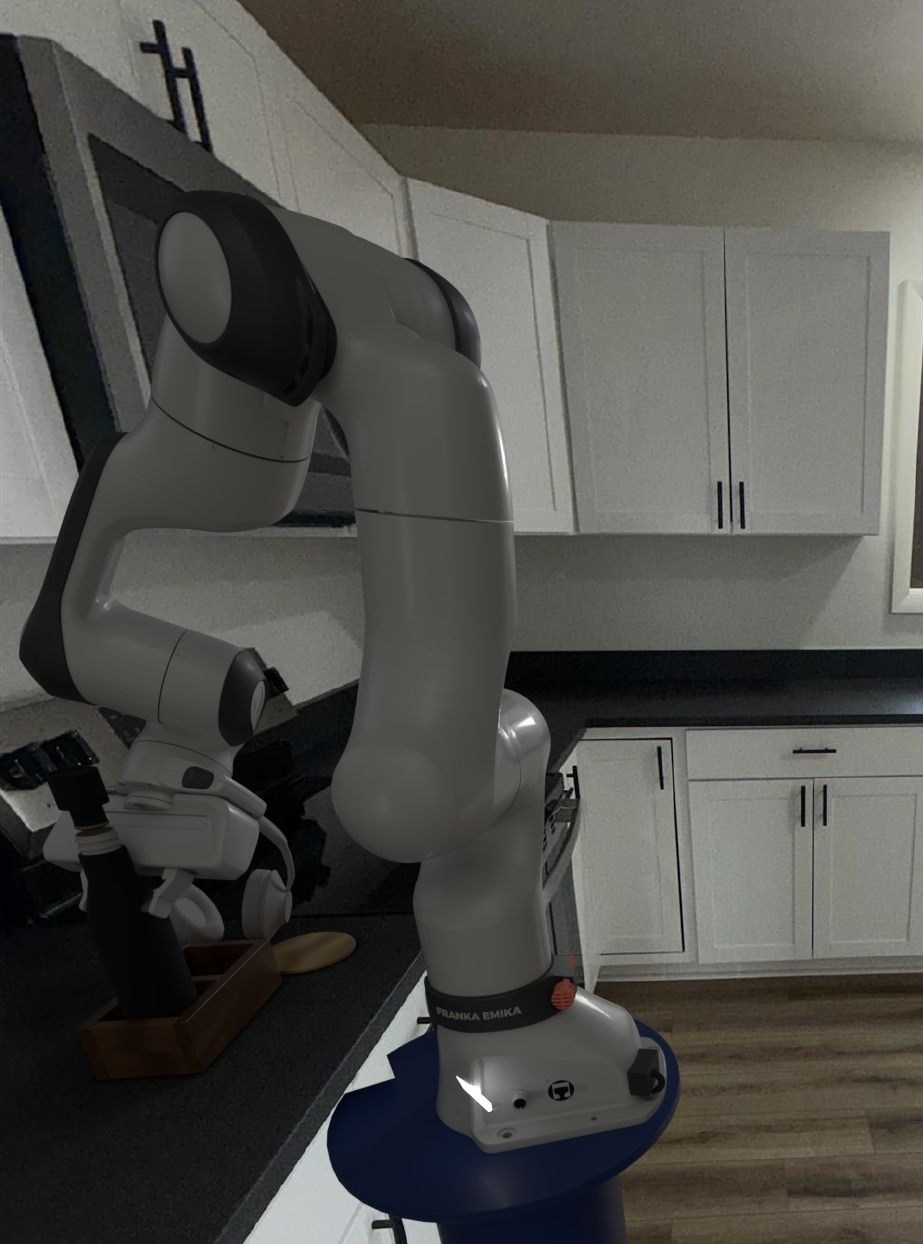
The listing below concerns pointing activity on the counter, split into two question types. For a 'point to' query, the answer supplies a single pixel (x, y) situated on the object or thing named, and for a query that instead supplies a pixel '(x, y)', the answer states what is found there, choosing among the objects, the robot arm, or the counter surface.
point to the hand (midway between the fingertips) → (122, 914)
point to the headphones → (261, 902)
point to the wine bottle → (122, 907)
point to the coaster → (312, 951)
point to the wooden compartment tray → (186, 1015)
